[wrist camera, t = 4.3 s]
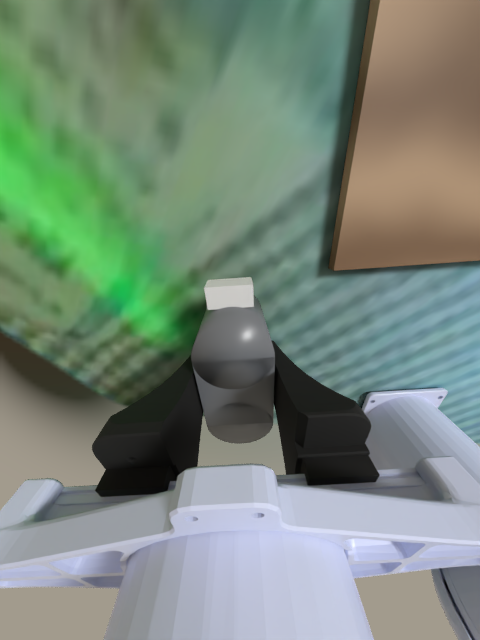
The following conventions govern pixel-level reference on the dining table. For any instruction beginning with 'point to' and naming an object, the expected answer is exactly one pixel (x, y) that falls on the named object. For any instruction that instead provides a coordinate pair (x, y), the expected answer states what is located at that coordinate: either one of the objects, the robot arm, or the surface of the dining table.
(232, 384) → the grey rounded bottle
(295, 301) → the dining table surface
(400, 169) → the walnut pad
